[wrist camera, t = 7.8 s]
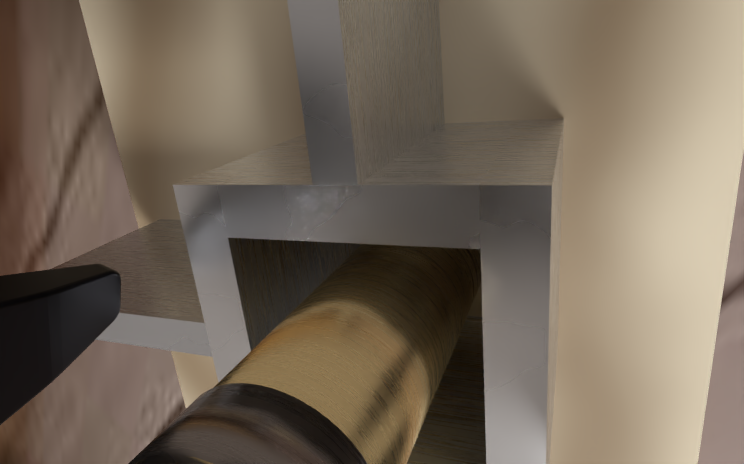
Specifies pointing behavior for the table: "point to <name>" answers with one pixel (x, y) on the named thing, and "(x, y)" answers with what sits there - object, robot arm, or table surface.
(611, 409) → the beige panel with ridges
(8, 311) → the robot arm
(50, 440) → the table surface
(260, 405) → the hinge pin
